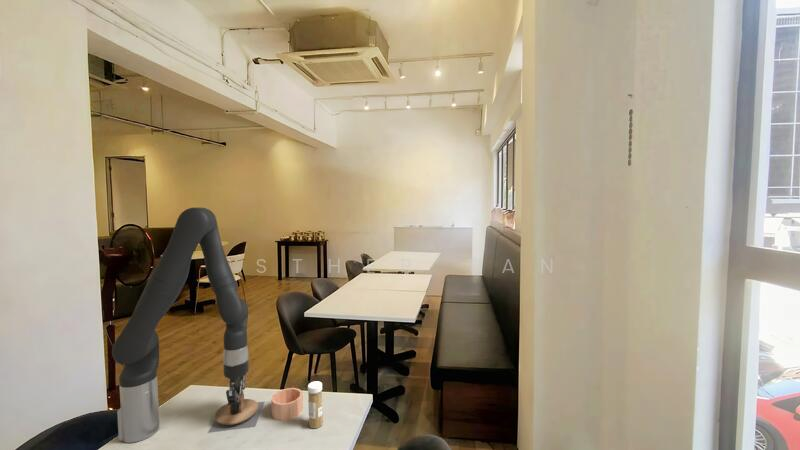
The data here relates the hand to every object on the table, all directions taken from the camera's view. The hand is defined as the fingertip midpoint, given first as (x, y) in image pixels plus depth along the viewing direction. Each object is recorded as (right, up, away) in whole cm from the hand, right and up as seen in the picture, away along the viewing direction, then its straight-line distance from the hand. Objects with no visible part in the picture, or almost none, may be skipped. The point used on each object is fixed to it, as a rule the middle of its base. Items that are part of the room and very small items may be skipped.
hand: (237, 409), depth 110 cm
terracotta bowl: (+16, -3, +3) cm, 17 cm away
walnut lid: (0, -1, 0) cm, 1 cm away
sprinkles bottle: (+27, -3, -4) cm, 28 cm away
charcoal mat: (0, -3, 0) cm, 3 cm away
